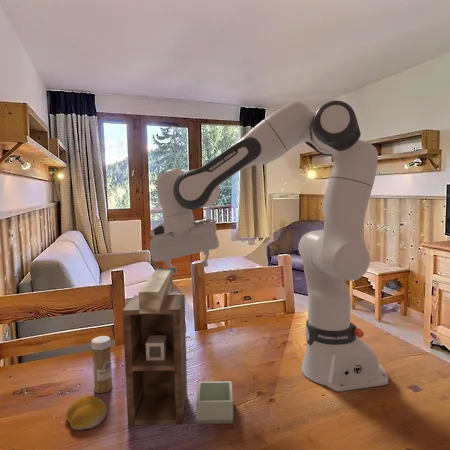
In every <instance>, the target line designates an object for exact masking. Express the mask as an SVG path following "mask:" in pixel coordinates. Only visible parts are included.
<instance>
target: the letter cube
mask: <svg viewBox="0 0 450 450" xmlns="http://www.w3.org/2000/svg"><path fill="white" fill-rule="evenodd" d="M166 354H167V335H149V338H148V340H147V342H146V361H148V360H165V357H166Z"/></svg>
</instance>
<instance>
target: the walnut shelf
mask: <svg viewBox="0 0 450 450" xmlns="http://www.w3.org/2000/svg"><path fill="white" fill-rule="evenodd" d="M185 295H186V294H168V296H167V298H166V300H165V302H164V304H163V306H162V308H161V310H160V312H159V313H143V314H139V294H137V295H136V294H135V295H133V297H131V299H130V300H129V301H128V303H127V304H126V305H125V307H124V308H123V309H122V324H123V325H122V326H123V328H122V329H123V346H124V347H123V348H124V349H123V350H124V366H125V368H124V369H125V370H124V371H125V372H124V373H125V391H126V394H125V395H126V413H127V426H157V425H162V426H163V425H183V424H184V420H185V413H186V407H187V400H188V381H187V380H188V378H187V377H188V375H187V374H188V373H187V372H188V371H187V369H188V367H187V334H186V329H187V328H186V297H185ZM149 335H167V354H166V357H165V360H148V361H146V342H147V340H148V338H149Z"/></svg>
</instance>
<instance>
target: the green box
mask: <svg viewBox="0 0 450 450" xmlns="http://www.w3.org/2000/svg"><path fill="white" fill-rule="evenodd" d="M232 382H233V381H231V380H225V381H224V380H223V381H222V380H219V381H217V380H215V381H198V383H197V384H198V385H197V392H196V401H195V402H196V403H195V409H196V410H195V411H196V413H195V414H196V425H203V424H204V425H206V424H207V425H209V424H212V425H213V424H234V397H233V395H234V394H233V383H232Z"/></svg>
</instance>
